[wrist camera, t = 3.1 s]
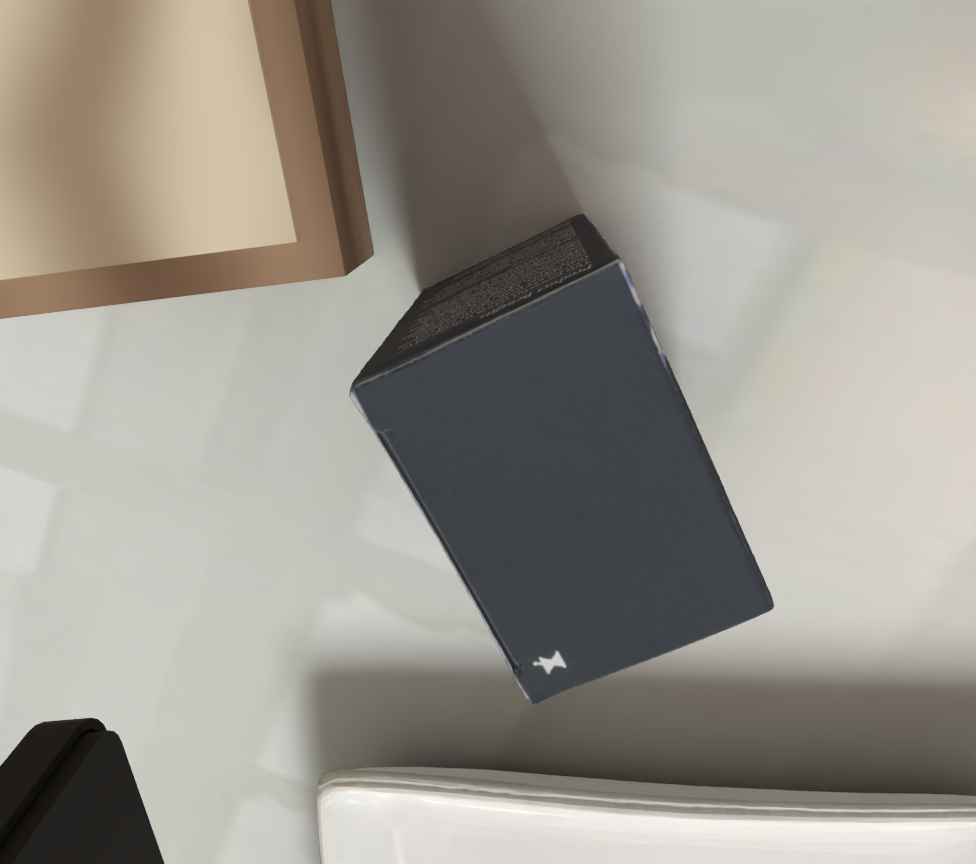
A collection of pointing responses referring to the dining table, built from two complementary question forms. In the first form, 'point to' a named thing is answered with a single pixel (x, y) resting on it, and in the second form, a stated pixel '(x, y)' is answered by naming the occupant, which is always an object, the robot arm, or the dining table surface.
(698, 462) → the box
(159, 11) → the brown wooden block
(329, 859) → the square plate
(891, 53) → the dining table surface
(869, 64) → the dining table surface
